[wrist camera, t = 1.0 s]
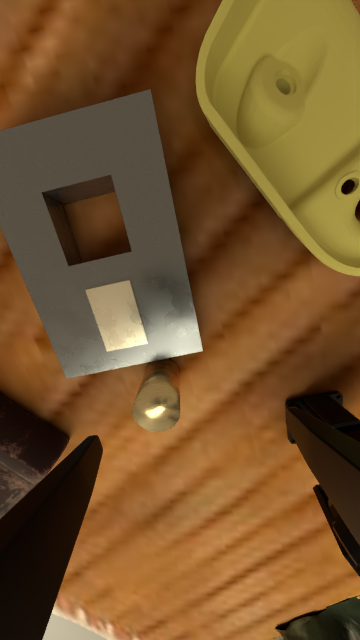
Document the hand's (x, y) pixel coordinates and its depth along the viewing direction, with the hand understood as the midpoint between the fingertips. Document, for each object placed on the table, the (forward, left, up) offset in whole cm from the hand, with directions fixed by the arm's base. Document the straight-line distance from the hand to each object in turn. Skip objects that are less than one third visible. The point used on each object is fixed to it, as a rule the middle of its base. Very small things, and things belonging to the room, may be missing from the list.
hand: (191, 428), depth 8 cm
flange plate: (+9, +5, -12) cm, 16 cm away
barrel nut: (-4, +3, -12) cm, 12 cm away
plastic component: (+14, -14, -12) cm, 23 cm away
